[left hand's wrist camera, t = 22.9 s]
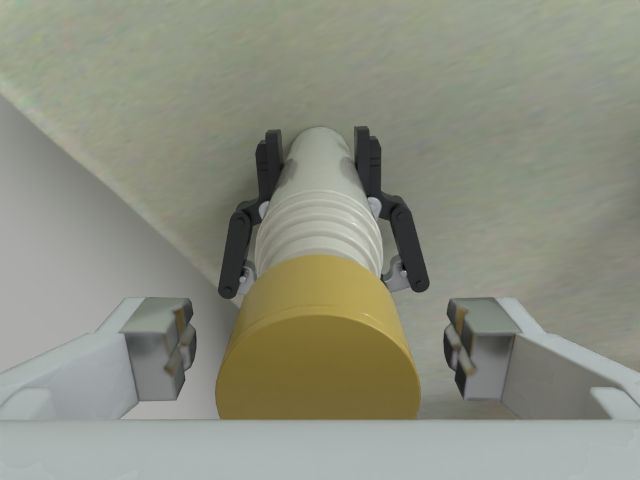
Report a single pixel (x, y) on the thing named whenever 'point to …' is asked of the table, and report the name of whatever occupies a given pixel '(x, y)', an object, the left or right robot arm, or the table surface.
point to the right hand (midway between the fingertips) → (316, 131)
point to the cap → (318, 348)
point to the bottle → (319, 207)
